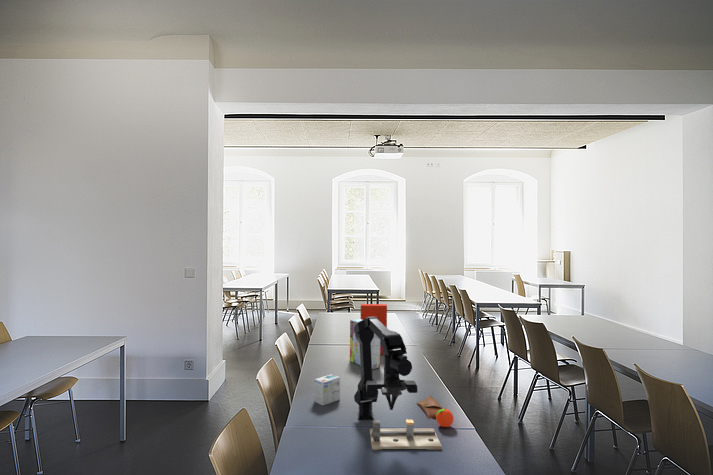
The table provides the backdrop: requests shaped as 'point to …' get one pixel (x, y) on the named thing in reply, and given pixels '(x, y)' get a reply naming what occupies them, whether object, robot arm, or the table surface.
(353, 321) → the snack box
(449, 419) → the clementine
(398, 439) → the board
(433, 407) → the sunglasses case
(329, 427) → the table surface
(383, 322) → the file binder
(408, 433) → the slider
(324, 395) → the light bulb box
